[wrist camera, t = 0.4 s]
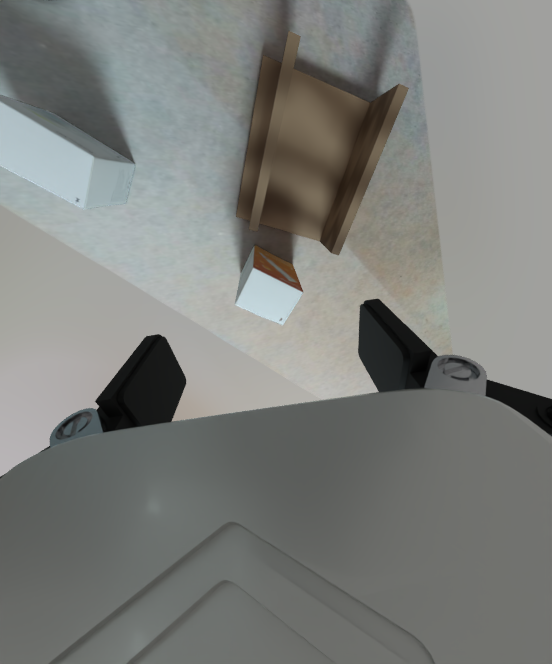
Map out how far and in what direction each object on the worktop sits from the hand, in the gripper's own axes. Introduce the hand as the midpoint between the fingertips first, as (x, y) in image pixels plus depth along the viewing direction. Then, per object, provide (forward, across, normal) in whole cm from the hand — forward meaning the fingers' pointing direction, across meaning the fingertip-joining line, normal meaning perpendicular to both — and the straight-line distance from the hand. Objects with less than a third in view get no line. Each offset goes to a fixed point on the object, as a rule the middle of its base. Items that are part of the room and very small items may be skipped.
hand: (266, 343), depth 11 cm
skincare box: (+33, +22, -13) cm, 42 cm away
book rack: (+34, -8, -8) cm, 35 cm away
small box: (+34, +1, +7) cm, 35 cm away
